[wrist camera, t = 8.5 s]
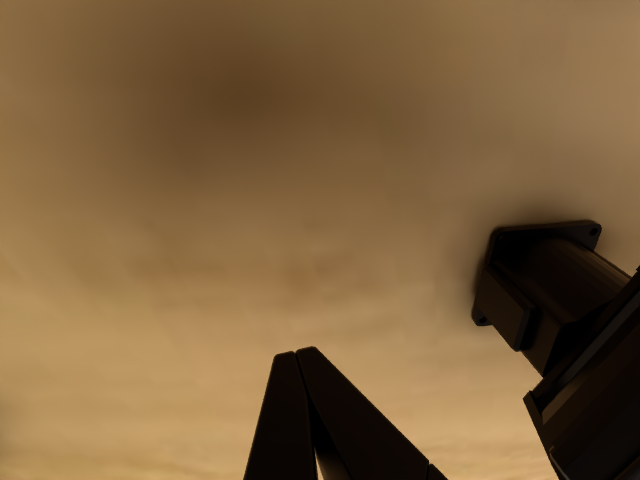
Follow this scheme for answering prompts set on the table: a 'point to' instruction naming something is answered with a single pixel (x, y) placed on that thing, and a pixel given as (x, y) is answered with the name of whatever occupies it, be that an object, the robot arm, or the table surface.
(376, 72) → the table surface
